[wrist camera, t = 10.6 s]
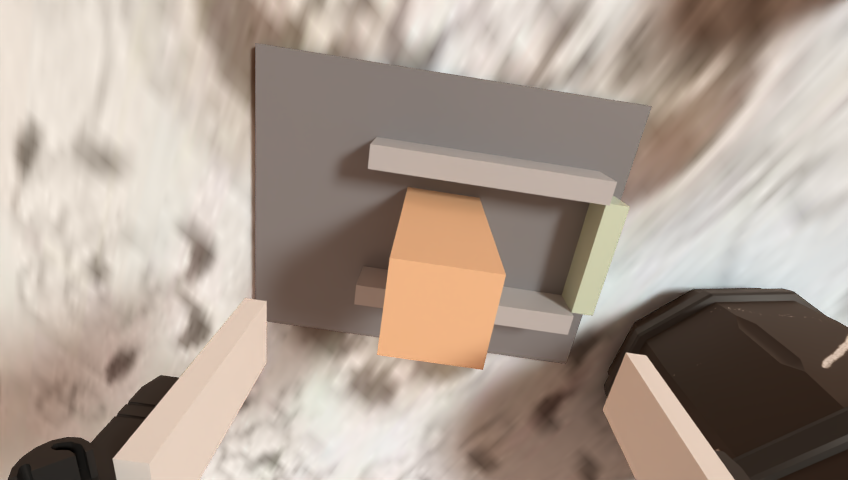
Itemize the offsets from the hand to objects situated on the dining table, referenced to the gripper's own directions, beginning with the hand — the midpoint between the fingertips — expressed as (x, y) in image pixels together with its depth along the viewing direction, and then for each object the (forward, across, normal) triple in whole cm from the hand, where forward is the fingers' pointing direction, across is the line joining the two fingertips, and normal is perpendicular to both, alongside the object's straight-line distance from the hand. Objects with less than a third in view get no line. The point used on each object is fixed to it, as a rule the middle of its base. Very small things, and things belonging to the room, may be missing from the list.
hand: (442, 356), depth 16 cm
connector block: (+15, 0, -1) cm, 15 cm away
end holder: (+16, 0, -1) cm, 16 cm away
